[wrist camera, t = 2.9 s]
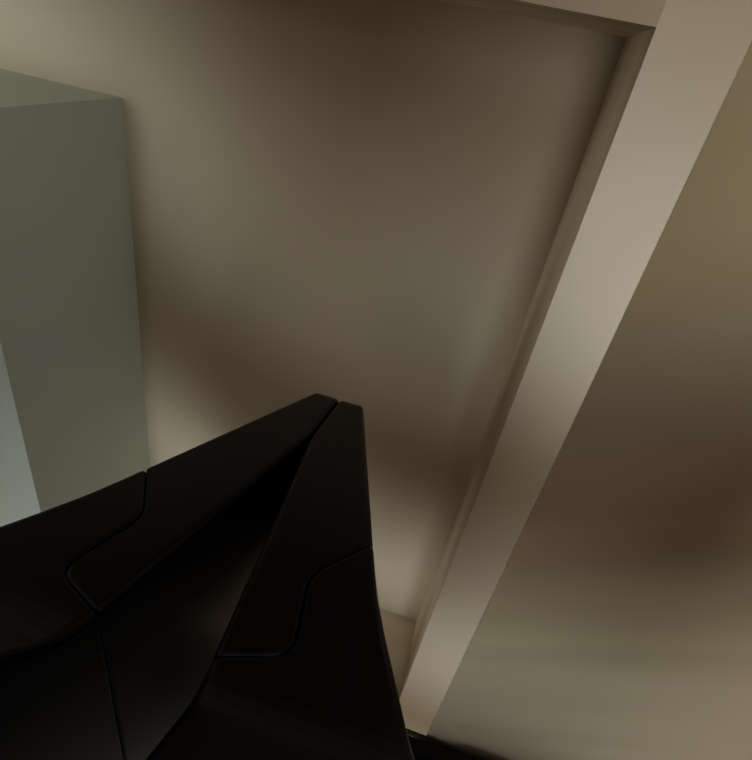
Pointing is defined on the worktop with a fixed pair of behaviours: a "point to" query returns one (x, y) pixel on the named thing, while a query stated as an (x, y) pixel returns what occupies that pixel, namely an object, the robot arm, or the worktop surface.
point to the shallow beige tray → (396, 237)
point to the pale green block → (66, 298)
